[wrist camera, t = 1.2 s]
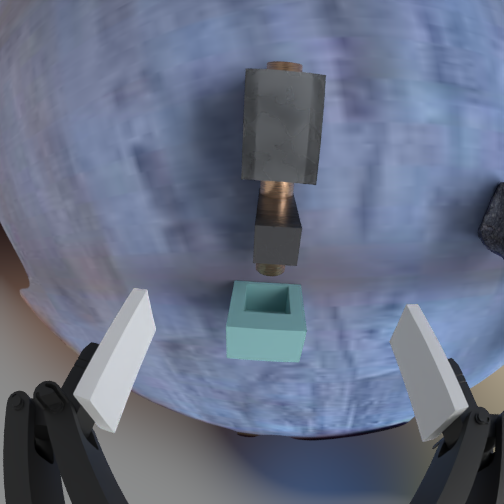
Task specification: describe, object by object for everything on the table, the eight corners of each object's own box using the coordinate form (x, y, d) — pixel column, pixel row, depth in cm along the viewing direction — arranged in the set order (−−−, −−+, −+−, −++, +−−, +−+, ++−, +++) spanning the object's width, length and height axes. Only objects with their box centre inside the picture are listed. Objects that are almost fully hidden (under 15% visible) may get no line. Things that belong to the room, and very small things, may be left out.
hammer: (265, 65, 21) (263, 45, 13) (301, 68, 21) (317, 50, 13) (255, 259, 31) (250, 314, 23) (284, 261, 31) (288, 316, 23)
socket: (234, 280, 34) (226, 326, 27) (300, 284, 34) (306, 331, 27) (234, 311, 37) (226, 357, 30) (295, 315, 36) (299, 362, 30)
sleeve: (250, 76, 23) (245, 68, 18) (313, 81, 23) (325, 75, 18) (247, 164, 27) (241, 179, 22) (306, 168, 27) (315, 184, 22)
